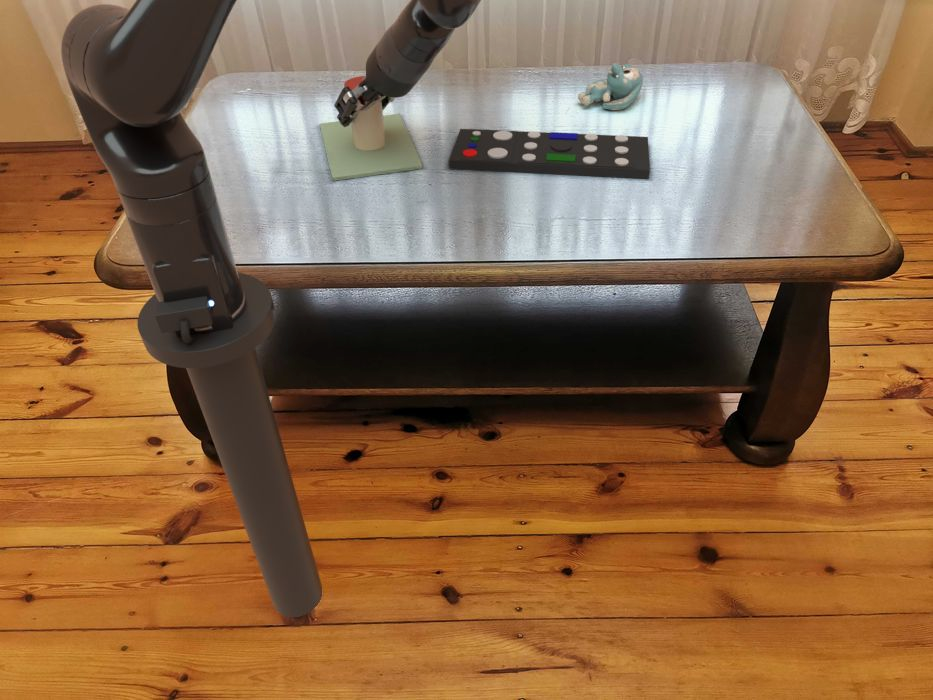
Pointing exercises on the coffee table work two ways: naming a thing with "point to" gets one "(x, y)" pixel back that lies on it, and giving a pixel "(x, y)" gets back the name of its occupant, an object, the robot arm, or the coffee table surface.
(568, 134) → the remote control
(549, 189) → the coffee table surface
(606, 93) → the stuffed animal
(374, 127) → the beige jar
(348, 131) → the felt mat
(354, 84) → the red lid
